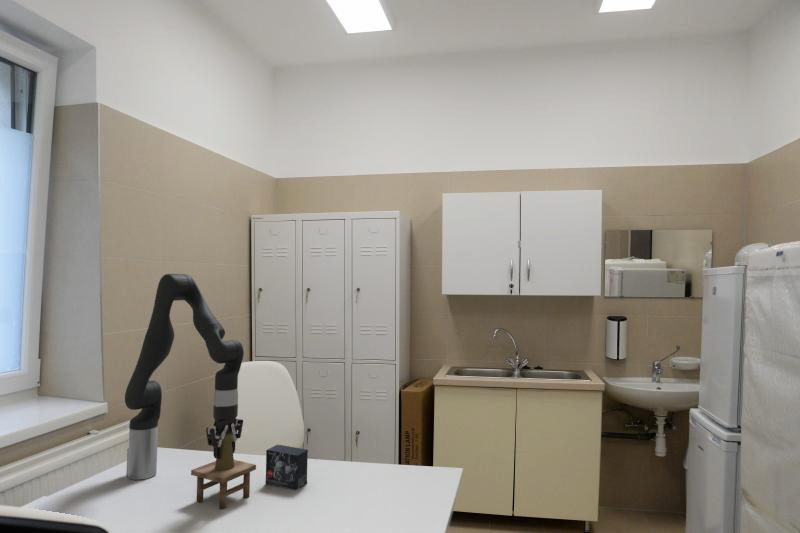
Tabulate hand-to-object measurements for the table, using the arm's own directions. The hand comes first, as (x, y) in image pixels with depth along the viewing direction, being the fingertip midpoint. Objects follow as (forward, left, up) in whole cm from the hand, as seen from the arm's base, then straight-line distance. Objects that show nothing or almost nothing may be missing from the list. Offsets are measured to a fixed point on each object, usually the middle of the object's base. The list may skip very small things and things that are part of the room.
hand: (224, 455), depth 170 cm
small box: (+9, +20, -14) cm, 26 cm away
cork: (0, 0, -4) cm, 4 cm away
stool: (0, 0, -14) cm, 14 cm away
